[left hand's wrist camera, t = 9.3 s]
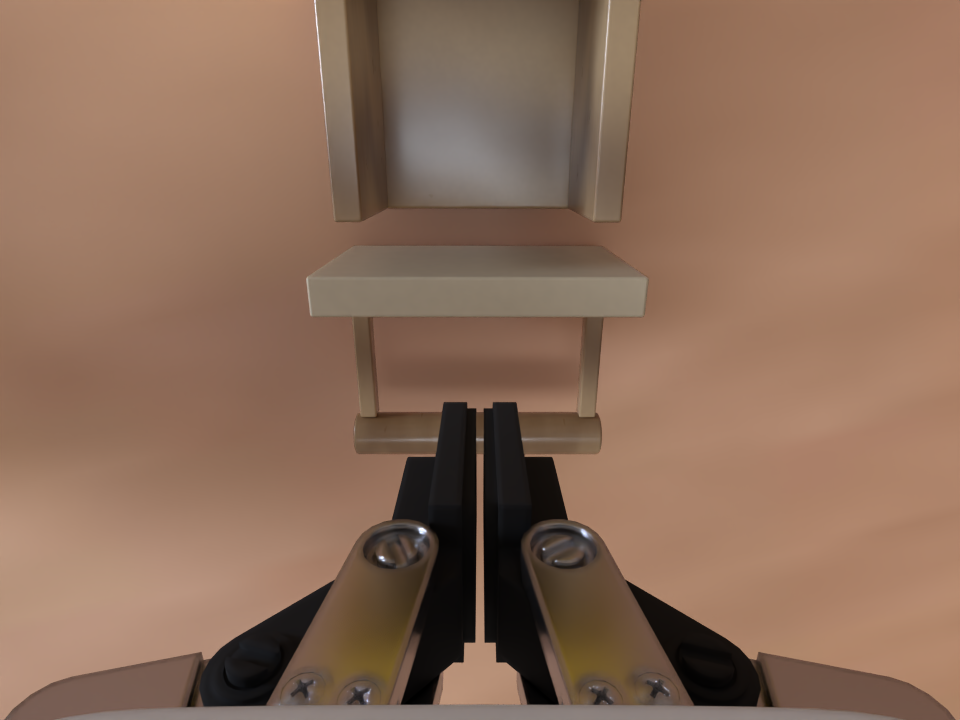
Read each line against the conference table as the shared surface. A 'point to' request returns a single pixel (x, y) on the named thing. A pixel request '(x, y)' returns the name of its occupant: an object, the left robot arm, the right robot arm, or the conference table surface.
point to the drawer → (477, 178)
